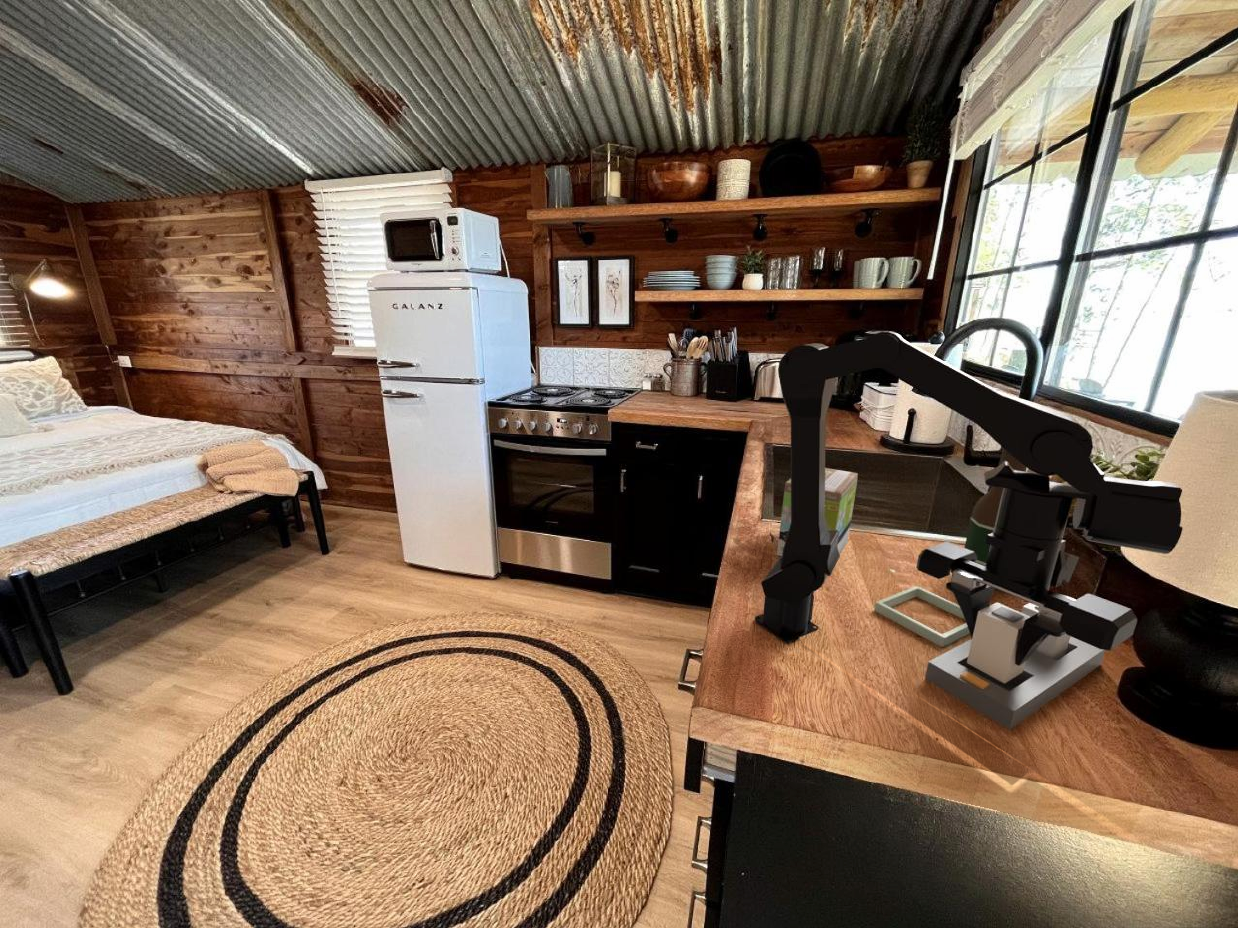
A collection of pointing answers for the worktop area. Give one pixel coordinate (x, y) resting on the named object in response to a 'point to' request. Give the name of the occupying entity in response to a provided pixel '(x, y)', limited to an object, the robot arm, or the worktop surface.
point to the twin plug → (1049, 638)
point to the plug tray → (917, 627)
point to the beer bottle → (987, 514)
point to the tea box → (827, 506)
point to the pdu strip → (1012, 681)
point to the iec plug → (997, 642)
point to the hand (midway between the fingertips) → (997, 652)
